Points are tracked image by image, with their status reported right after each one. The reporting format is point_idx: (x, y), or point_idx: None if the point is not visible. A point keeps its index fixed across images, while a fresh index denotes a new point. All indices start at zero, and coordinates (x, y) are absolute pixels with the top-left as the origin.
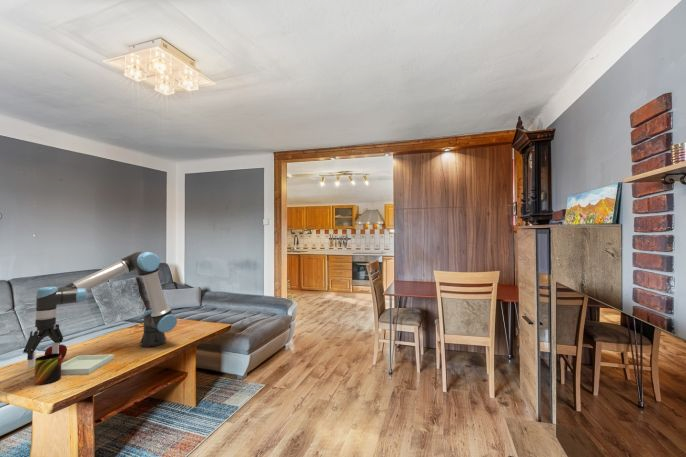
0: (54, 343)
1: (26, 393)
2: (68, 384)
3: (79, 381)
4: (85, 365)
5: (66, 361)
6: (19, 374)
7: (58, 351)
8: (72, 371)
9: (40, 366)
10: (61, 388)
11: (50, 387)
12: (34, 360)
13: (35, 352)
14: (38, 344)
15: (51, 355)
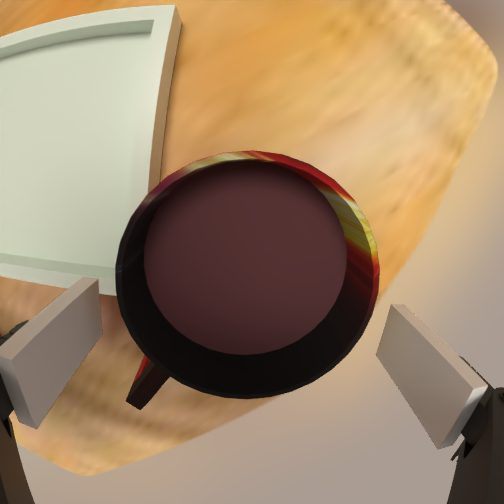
0: (28, 404)
1: (402, 233)
2: (330, 59)
3: (295, 19)
4: (40, 133)
5: (16, 274)
6: (130, 425)
7: (65, 293)
8: (159, 118)
9: (351, 273)
10: (380, 73)
11: (355, 143)
12: (427, 331)
13: (473, 384)
14: (493, 474)
15: (140, 320)
